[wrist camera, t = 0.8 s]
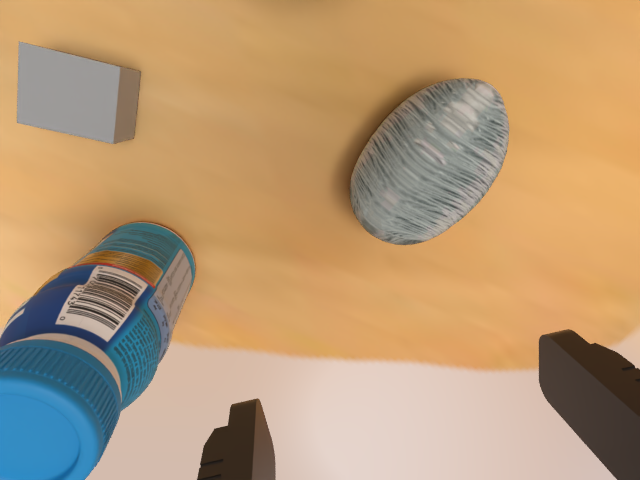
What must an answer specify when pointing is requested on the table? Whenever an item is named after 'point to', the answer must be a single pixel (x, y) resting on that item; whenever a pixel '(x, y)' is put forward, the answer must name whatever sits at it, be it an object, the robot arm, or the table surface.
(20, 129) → the table surface
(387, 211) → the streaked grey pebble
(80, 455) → the beverage bottle
